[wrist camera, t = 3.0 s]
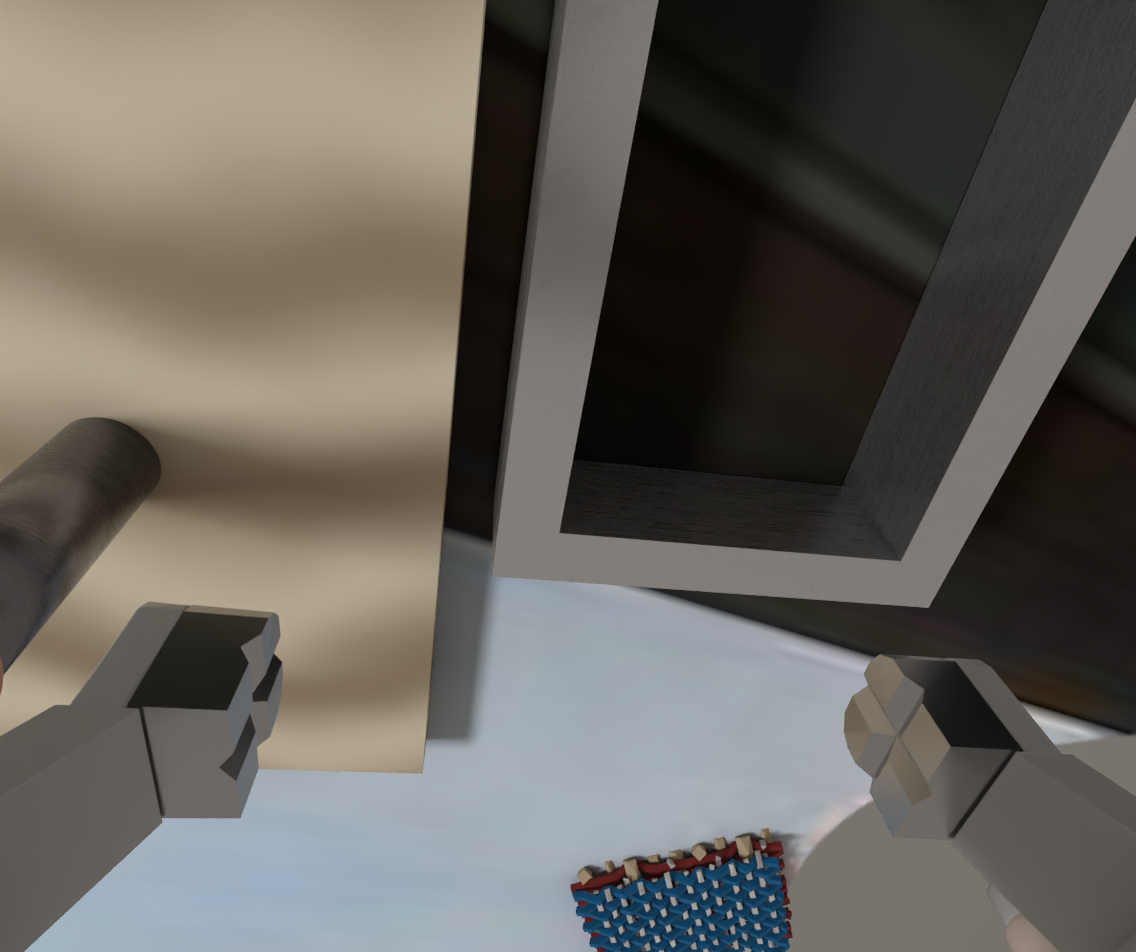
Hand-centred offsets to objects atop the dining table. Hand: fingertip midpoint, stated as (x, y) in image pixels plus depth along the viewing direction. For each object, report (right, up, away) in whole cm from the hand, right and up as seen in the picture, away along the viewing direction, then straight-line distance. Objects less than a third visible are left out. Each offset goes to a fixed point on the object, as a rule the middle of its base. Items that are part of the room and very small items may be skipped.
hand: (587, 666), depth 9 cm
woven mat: (+6, -19, +27) cm, 34 cm away
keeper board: (-13, +4, +11) cm, 17 cm away
